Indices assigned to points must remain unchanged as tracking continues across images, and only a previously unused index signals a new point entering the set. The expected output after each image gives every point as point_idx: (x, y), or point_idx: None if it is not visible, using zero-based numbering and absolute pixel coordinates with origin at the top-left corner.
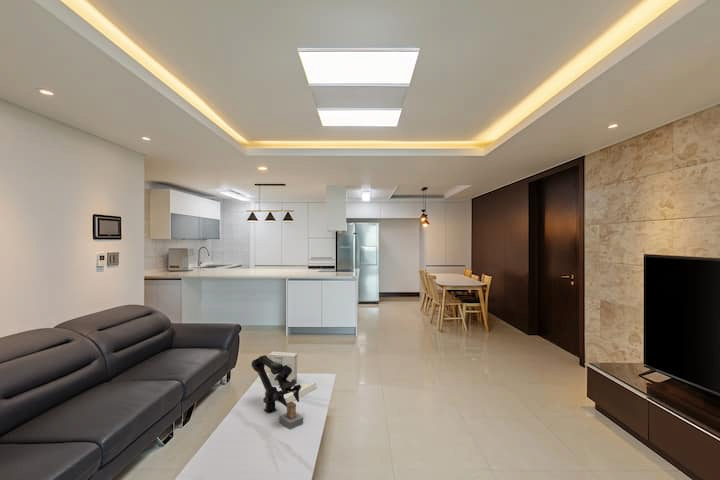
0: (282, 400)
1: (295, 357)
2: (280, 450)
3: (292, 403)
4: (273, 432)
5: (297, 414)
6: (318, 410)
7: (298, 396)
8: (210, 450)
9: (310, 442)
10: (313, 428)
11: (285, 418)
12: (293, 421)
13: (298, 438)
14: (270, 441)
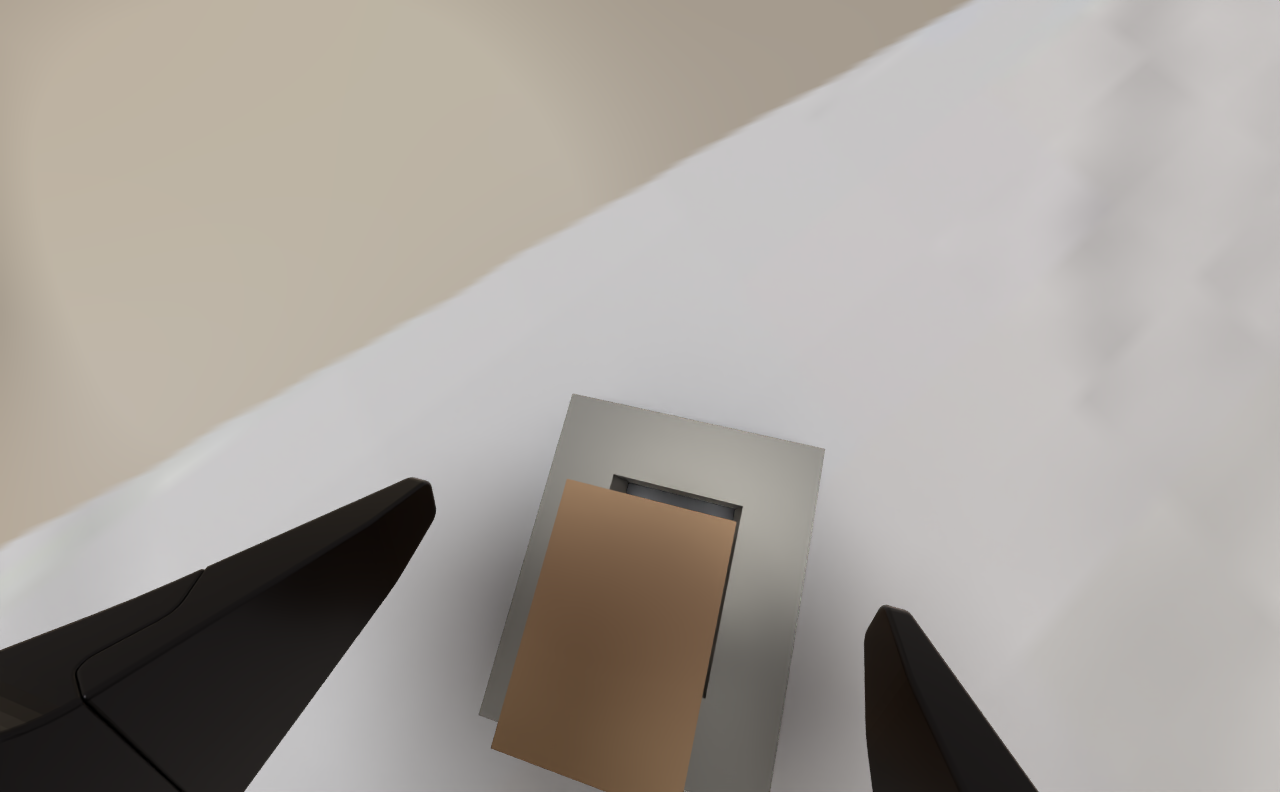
0: None
1: None
2: (1230, 233)
3: (600, 596)
4: (1022, 617)
5: (542, 532)
6: (231, 462)
7: (241, 558)
8: None
9: (865, 101)
10: (623, 245)
11: (762, 629)
12: (758, 434)
13: (892, 239)
14: (1213, 478)
